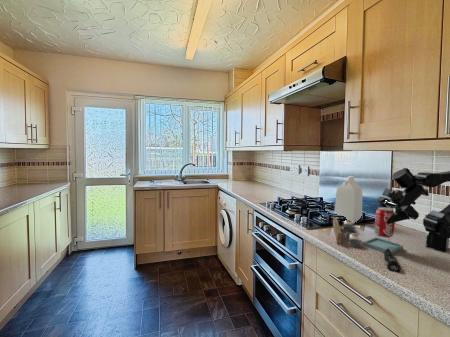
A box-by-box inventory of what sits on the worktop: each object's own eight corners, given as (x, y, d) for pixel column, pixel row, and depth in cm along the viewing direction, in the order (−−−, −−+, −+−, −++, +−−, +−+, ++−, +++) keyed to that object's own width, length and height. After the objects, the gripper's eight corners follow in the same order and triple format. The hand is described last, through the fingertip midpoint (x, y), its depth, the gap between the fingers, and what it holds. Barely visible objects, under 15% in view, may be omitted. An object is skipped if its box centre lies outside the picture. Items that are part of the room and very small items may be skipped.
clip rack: (352, 227, 133) (352, 218, 132) (361, 247, 105) (362, 236, 105) (332, 225, 136) (333, 216, 136) (337, 244, 109) (337, 233, 108)
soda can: (397, 237, 105) (399, 209, 104) (388, 240, 101) (390, 211, 100) (379, 232, 111) (381, 205, 110) (370, 234, 107) (372, 207, 106)
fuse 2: (359, 244, 109) (360, 234, 108) (355, 246, 107) (356, 236, 106) (351, 242, 112) (352, 232, 111) (347, 243, 110) (348, 233, 109)
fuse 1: (352, 228, 130) (353, 220, 130) (349, 230, 128) (349, 221, 128) (346, 227, 133) (346, 218, 133) (342, 228, 131) (342, 220, 131)
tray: (402, 249, 105) (403, 245, 105) (390, 254, 99) (390, 250, 99) (375, 240, 114) (375, 237, 114) (362, 245, 108) (363, 241, 108)
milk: (353, 223, 140) (356, 178, 138) (333, 218, 149) (336, 176, 147) (362, 220, 148) (365, 176, 146) (342, 215, 157) (345, 175, 154)
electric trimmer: (393, 256, 98) (393, 249, 98) (400, 273, 84) (401, 264, 84) (382, 254, 100) (382, 247, 100) (387, 271, 86) (388, 262, 86)
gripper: (382, 179, 113) (357, 202, 114) (413, 185, 95) (383, 213, 96) (398, 196, 114) (373, 219, 115) (432, 205, 95) (402, 233, 96)
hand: (381, 220), depth 105 cm, fingers closed on soda can, 7 cm apart
